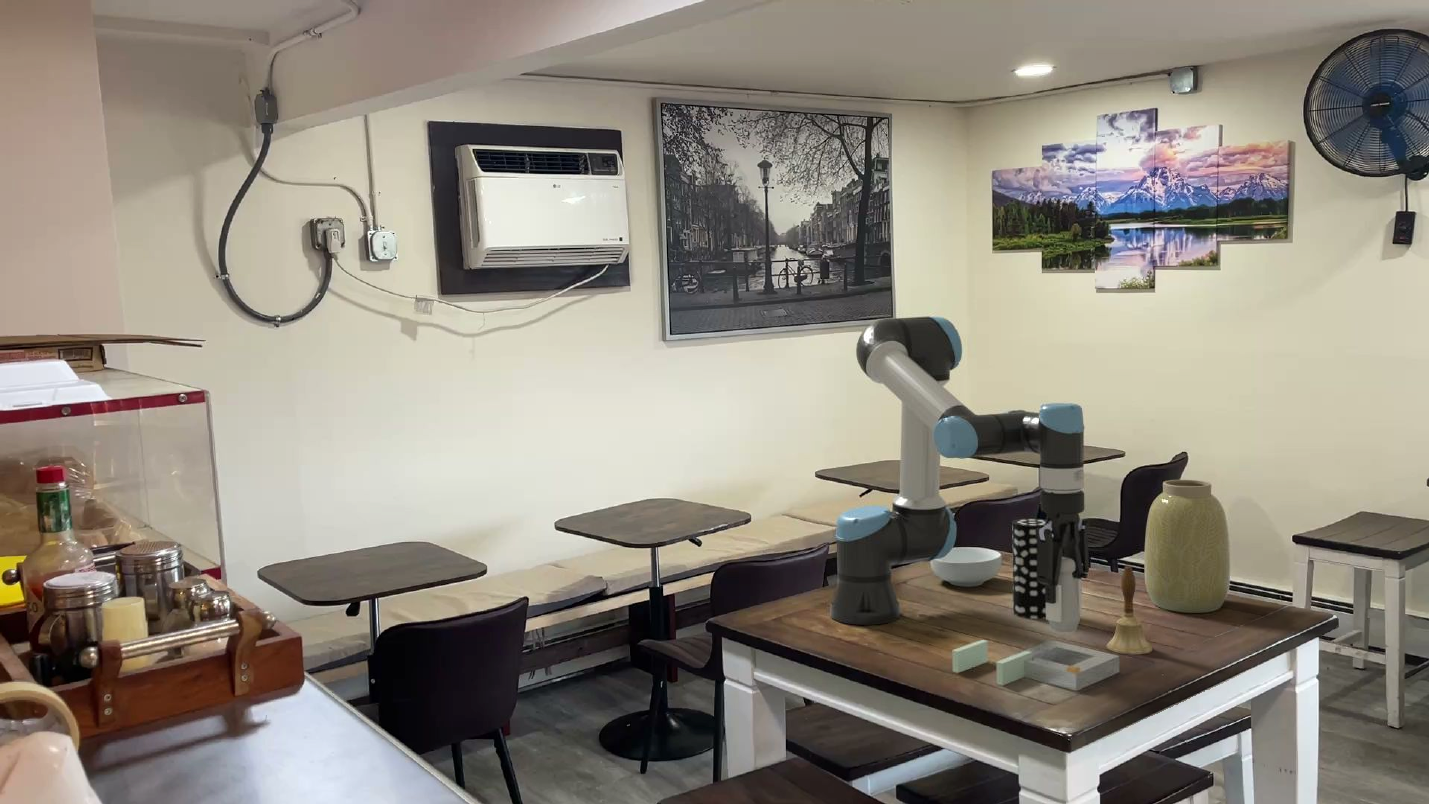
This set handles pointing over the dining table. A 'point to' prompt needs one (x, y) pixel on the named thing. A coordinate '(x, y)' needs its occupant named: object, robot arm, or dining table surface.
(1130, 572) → the hand bell
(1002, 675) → the pale green rectangular blocks
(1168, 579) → the vase
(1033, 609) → the white-spotted black cylinder
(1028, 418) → the robot arm
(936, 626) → the dining table surface
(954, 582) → the cereal bowl
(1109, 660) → the socket
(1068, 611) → the salt shaker
